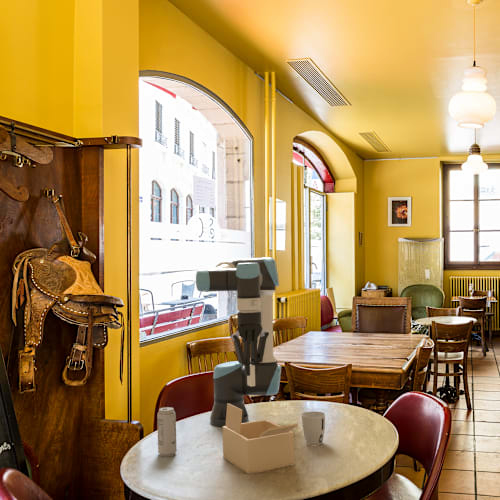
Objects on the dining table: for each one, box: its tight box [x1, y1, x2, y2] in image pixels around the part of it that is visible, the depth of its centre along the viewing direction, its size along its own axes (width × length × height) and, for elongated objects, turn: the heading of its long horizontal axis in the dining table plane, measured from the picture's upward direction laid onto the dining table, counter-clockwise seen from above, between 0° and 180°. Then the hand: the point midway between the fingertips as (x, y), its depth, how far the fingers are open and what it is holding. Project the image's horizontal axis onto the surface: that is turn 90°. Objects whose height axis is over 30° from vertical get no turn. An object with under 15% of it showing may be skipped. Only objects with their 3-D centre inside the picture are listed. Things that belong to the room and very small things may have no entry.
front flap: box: [259, 423, 299, 437], centre depth 179 cm, size 7×10×1 cm
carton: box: [221, 419, 295, 475], centre depth 190 cm, size 19×17×10 cm
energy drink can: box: [156, 406, 177, 458], centre depth 198 cm, size 6×6×15 cm
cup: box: [301, 410, 326, 446], centre depth 206 cm, size 8×8×10 cm
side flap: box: [225, 403, 242, 433], centre depth 188 cm, size 7×10×1 cm
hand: (251, 385), depth 190 cm, fingers closed
